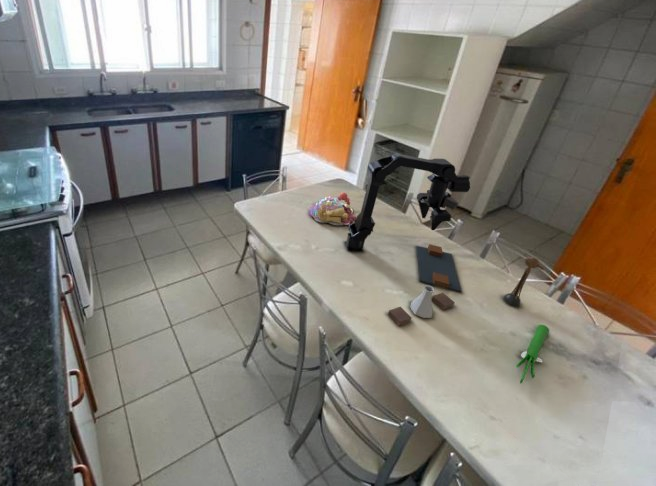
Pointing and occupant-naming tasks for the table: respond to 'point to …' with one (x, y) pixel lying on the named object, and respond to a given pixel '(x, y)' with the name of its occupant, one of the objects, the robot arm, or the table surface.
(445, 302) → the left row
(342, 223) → the multicoloured lumpy mound
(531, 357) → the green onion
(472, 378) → the table surface
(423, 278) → the right mat
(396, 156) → the robot arm
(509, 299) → the wooden tabletop sculpture
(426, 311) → the flask
